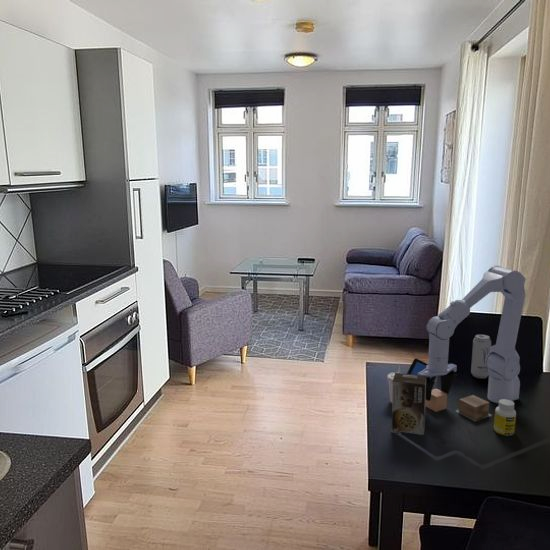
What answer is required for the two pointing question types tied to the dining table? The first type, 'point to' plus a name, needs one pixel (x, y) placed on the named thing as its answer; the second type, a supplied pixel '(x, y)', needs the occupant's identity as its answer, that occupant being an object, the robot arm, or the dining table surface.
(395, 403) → the printed cardboard box
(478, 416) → the walnut block
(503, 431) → the supplement bottle
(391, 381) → the smoothie
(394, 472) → the dining table surface
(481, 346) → the energy drink can
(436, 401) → the terracotta block
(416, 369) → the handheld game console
